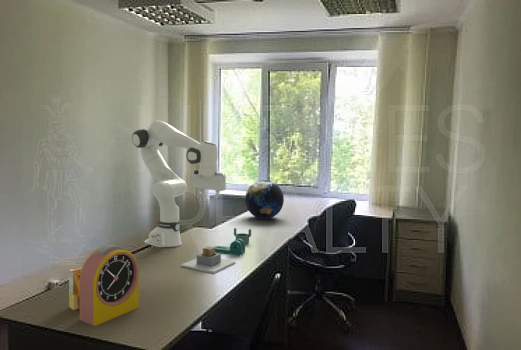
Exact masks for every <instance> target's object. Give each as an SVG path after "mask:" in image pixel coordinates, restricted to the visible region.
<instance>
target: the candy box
mask: <svg viewBox="0 0 521 350" xmlns="http://www.w3.org/2000/svg"><path fill="white" fill-rule="evenodd" d="M82 267H83V266H80V267H75V268H70V269H68V298H69V299H68V303H69V304H68V307H69V309H71V310H73V311H76V310H80V289H79V280H80V273H81V270H82Z"/></svg>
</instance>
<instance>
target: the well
mask: <svg viewBox="0 0 521 350" xmlns="http://www.w3.org/2000/svg"><path fill="white" fill-rule="evenodd" d="M235 264H236V261H234V260H229V259H226V258H222V253H217V252H215V255H214V256H212V257H208V256H203V252H201V253H199V254H196V257H195V258H194V259H191V260H189V261H187V262H186V261H185V262H184V263H182V264H180V266H181V267H182V268H187V269H191V270H194V271H195V270H196V271H200V272H204V273H208V274H209V273H210V274H213V275H214V274H216V273H219V272H220V271H222V270H224V269H226V268H228V267H231V266H233V265H235Z"/></svg>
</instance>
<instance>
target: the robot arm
mask: <svg viewBox="0 0 521 350" xmlns="http://www.w3.org/2000/svg"><path fill="white" fill-rule="evenodd" d="M131 142H132V144H133V145H134V147H136V148H139V149H140V151H139V152H140V155H141V159H142V160H143V163H144V165H145V167H146V168H147V169H148V172H149V174H150V176H151V177H153V178H154V179H156V180H157V182H155V183H154V184H153V186H152V192H151V193H152V194H153V196H154V198H156V200H157V201H158V205H159V209H160V210H159V213H160V214H159V215H160V219H159V220H158V221H157V222H156V225H157V226H156V227H155V228H153V229H152V230H151V231H150V232H149V233H148V238H147V239H145V240H144V241H143V242H144V243H145V244H148V245H151V246H153V247H157V248H173V247H179V246H182V239H181V234H180V233H181V231H180V230H181V229H180V228H181V220H180V207H179V206H178V205H177V203H176V201H175V198H176V197H180V196H182V195H184V194H185V193H186V192H187V189H188V185H187V182H186V180H184V179H183V178H181V177H180V176H178V175H177V174H176V173H175V172H174V171H173V170H172V169H171V167H170V166H169V165H168V164H167V161H165V158H164V156H163V155H162V154H161V152H160V149H159V147H162V146H163V145H165V146H168V147H170V148H183V149H187V151H186V160H187V162H188V164H191V165H200V168H197V169H195V170H192V176H191V187H192V188H193V189H196V190H197V192H198V197H204V193H203V192H202V190H203V189H204V190H210V191H215V194H214V195H213V199H214V200H215V199H216V200H218V197H219V194H220V192H224V191H225V190H226V189H227V183H226V175H225V174H224V173H223V172H218V163H217V162H218V158H219V157H218V153H219V152H218V151H219V150H218V146H217V143H215V142H214V141H211V140H204V141H202V142H199V141H198V140H196V139H194V138H192V137H191V136H188V135H187V134H185V133H183V132H182V131H180V130H178V129H177V128H175V127H174V126H172V125H171V124H169V123H167V122H165V121H163V120H160V119H156V120H153V121H152V122H151V123H150V125H149V126H148V127H145V128H142V129H137V130H135V131H134V132H133V133H132V136H131Z"/></svg>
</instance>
